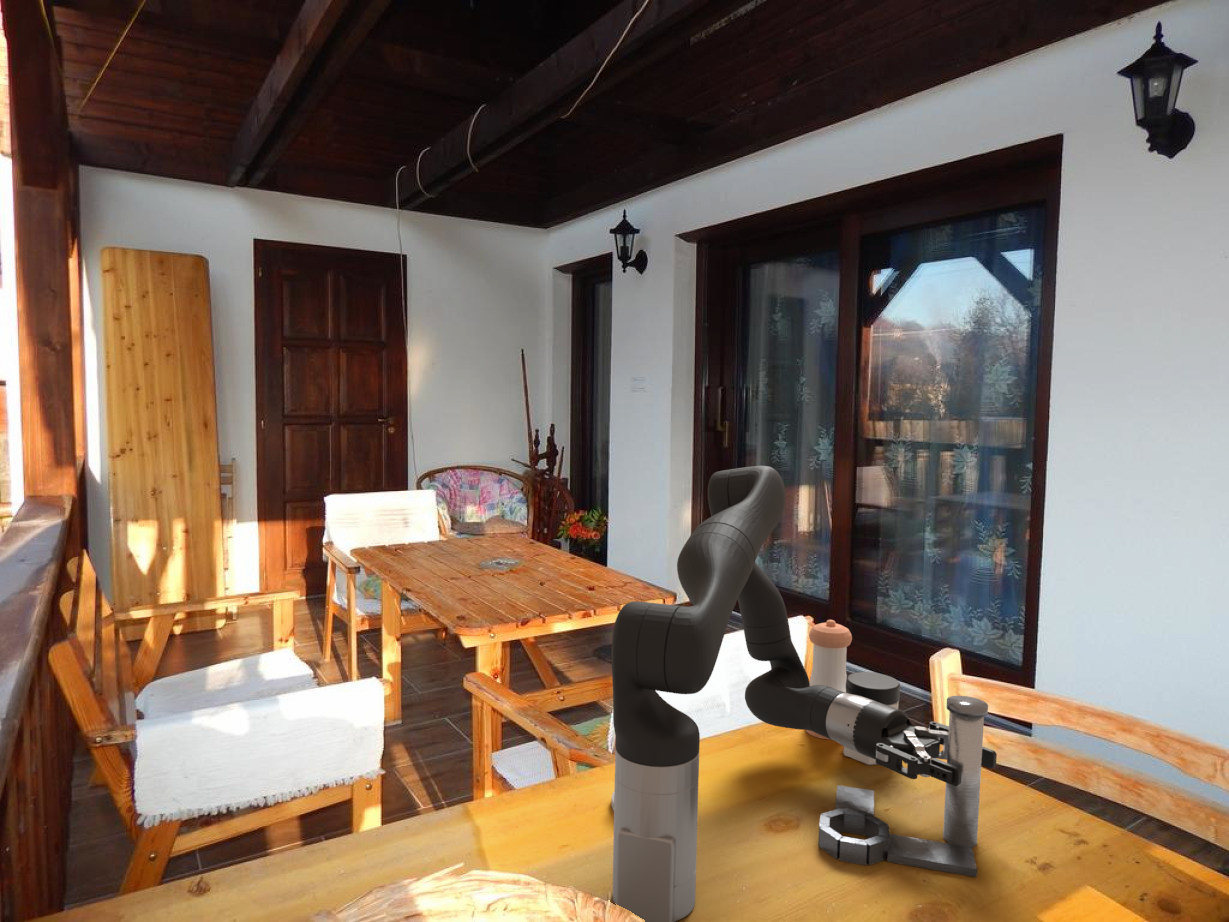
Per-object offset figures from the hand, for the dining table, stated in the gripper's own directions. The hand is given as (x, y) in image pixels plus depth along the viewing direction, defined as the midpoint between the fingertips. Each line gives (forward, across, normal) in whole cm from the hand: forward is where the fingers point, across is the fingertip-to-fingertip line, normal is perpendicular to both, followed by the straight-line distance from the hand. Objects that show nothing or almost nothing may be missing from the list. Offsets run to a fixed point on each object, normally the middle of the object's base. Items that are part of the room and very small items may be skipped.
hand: (978, 769), depth 102 cm
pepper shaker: (-34, +14, +10) cm, 38 cm away
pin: (-2, 0, +10) cm, 10 cm away
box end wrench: (-8, -6, +10) cm, 14 cm away
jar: (-24, +12, +10) cm, 29 cm away
